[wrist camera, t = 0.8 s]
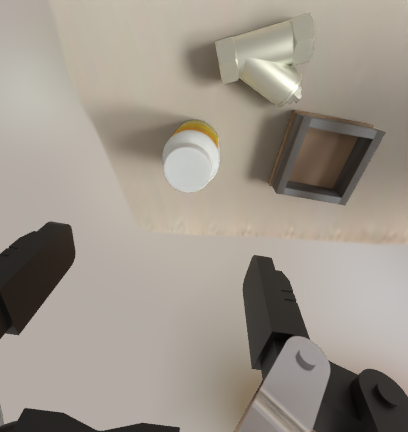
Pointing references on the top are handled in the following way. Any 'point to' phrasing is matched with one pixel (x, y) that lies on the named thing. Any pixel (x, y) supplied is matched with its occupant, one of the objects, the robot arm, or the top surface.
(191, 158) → the supplement bottle
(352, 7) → the top surface
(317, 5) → the top surface
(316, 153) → the square holder
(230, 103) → the top surface
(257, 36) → the pipe fitting
